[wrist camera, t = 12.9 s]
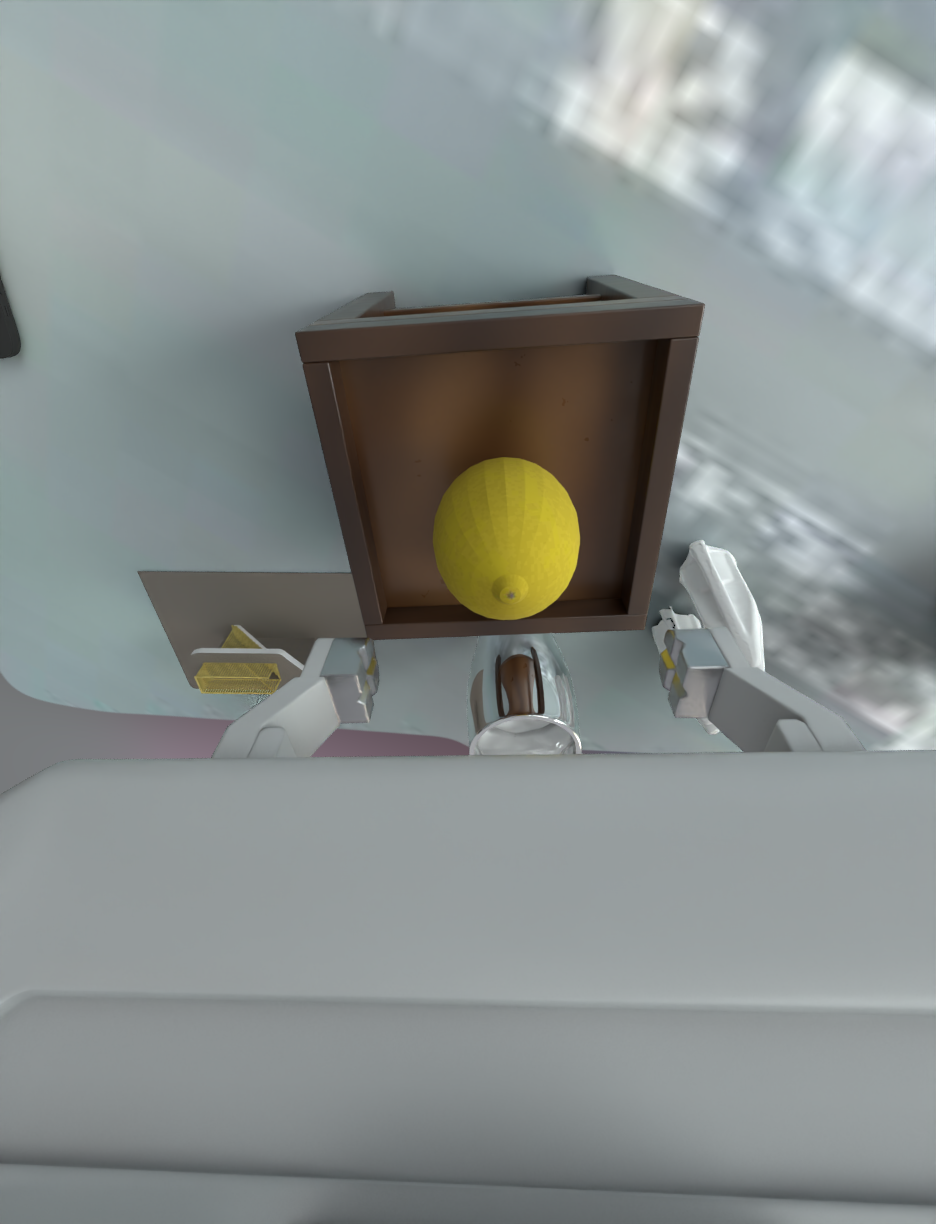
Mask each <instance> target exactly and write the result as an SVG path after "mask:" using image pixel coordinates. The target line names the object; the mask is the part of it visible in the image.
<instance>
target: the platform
mask: <svg viewBox="0 0 936 1224" xmlns="http://www.w3.org/2000/svg"><path fill="white" fill-rule="evenodd" d="M137 572H138V574H139V576H140V578H141V580H142V583H143V585H144V587H145V589H146V591H147V593H148V596H149V598H150V600H151V602H152V604H153V606H154V608H155V611H156V613H157V615H158V617H159V619H160V621H161V624H162V626H163V628H164V630H165V632H166V634H167V636H168V639H169V641H170V643H171V645H172V647H173V649H174V652H175V654H176V656H177V658H178V660H179V662H180V664H181V667H182V669H183V671H184V673H185V675H186V678H187V680H188V682H189V684H190V686H192V687H193V688H196V689H200V691H201V693H210V694H273V693H274V692H275V691H276V690H278V689H280V688H281V687H282V686H284V685H285V684H286V683H288V682H289V681H290V680H292V679H293V678H295V677H300V675H301V673H302V671H303V668H304V666H305V664H306V661H307V659H308V657H309V654H310V652H311V650H312V647H313V645H314V643H315V641H316V640H317V639H318V638H367V635H366V631H365V627H364V623H363V619H362V614H361V610H360V606H359V602H358V598H357V593H356V589H355V585H354V581H353V576H352V573H256V572H146V571H137ZM372 642H373V640H372ZM373 646H374V642H373ZM372 656H373V657H374V658H375V659H376V656H375V649H374V651H373V655H372ZM206 689H207V690H206ZM211 689H212V690H211ZM216 689H217V690H216ZM221 689H222V690H221ZM226 689H227V690H226ZM231 689H232V690H231ZM236 689H237V690H236ZM238 689H239V691H238ZM241 689H242V690H241ZM243 689H244V691H243ZM246 689H247V690H246ZM248 689H249V691H248ZM251 689H252V690H251ZM208 690H209V691H208ZM213 690H214V691H213ZM218 690H219V691H218ZM223 690H224V691H223ZM228 690H229V691H228ZM230 690H231V692H230ZM233 690H234V691H233ZM235 690H236V692H235ZM240 690H241V692H240ZM245 690H246V692H245ZM250 690H251V692H250ZM253 690H254V691H253ZM255 690H256V692H255ZM258 690H259V691H258ZM260 690H261V692H260ZM263 690H264V691H263ZM265 690H266V692H265ZM268 690H269V691H268ZM270 690H271V692H270ZM273 690H274V691H273ZM205 691H206V692H205ZM210 691H211V692H210ZM212 691H213V692H212ZM215 691H216V692H215ZM217 691H218V692H217ZM220 691H221V692H220ZM222 691H223V692H222ZM225 691H226V692H225ZM227 691H228V692H227ZM232 691H233V692H232ZM237 691H238V692H237ZM242 691H243V692H242ZM247 691H248V692H247ZM252 691H253V692H252ZM257 691H258V693H257ZM262 691H263V693H262ZM267 691H268V693H267ZM254 692H255V693H254ZM259 692H260V693H259ZM264 692H265V693H264ZM269 692H270V693H269ZM272 692H273V693H272Z"/></svg>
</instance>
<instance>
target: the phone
mask: <svg viewBox="0 0 936 1224" xmlns="http://www.w3.org/2000/svg"><path fill="white" fill-rule="evenodd" d="M20 347H21V343H20V338H19V334H18V331H17V328H16V325H15V321H14V318H13V315H12V312H11V309H10V306H9V302H8V299H7V296H6V293H5V290H4V287H3V284H2V280H1V277H0V358H8V357H12V356H15V355H17V354H18V353H19V351H20Z"/></svg>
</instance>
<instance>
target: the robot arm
mask: <svg viewBox="0 0 936 1224" xmlns="http://www.w3.org/2000/svg"><path fill="white" fill-rule="evenodd" d="M664 643H665V646H666V649H665V650H664V651H663V652H662V653H661V655H660V661H659V674H660V679H661V682H662V685H663V687H664V688H666V689H667V690H668V691H670V692H669V696H668V701H669V703H670V706H671V709H672V711H673V714H674V716H675V718H708V720H709V721H710V722H711V723H712V724H713V725H714V726H716V727H717V728H718V729H719V730H720V731H721V732H722V733H723V734H724V735H726V736H727V737H728V738H729V739H730V740H731V741H732V742H733V743H735V744H736V745H737V746H738V747H739V748H740V749H741V750H742V751H744V752H719V753H639V754H543V755H466V756H465V755H464V756H375V757H311V756H312V755H313V753H314V752H315V751H316V750H317V749H318V748H319V747H320V746H321V745H322V744H323V743H324V742H325V741H326V739H327V738H328V737H329V736H330V735H331V734H332V733H333V732H334V731H335V730H336V729H337V728H338V727H339V726H340V724H344V723H368V722H370V718H371V714H372V710H373V706H374V702H373V698H372V696H373V695H375V694H376V693H377V690H378V685H379V667H378V662H377V660H376V659H375V658H374V657H373V656H372V655H373V651H374V646H373V642H372V639H371V638H318V639H317V640H316V641H315V643H314V645H313V647H312V650H311V652H310V654H309V657H308V659H307V661H306V664H305V666H304V668H303V671H302V673H301V675H300V677H295V678H293V679H292V680H290V681H289V682H288V683H286V684H285V685H284V686H282V687H281V688H280V689H278V690H277V691H275V692H274V693H273V694H271V695H270V696H269V697H267V698H266V699H264V700H263V701H262V702H260V703H259V704H258V705H256V706H255V707H254V708H252V709H251V710H249V711H248V712H247V713H245V714H244V715H243V716H241V717H240V718H238V719H237V720H236V721H234V722H233V723H232V724H230V725H229V726H228V727H227V728H226V730H225V732H224V734H223V736H222V738H221V740H220V742H219V744H218V745H217V747H216V749H215V751H214V753H213V755H212V757H211V758H189V759H75V760H67V761H62V762H59V763H56V764H54V765H52V766H50V767H48V768H46V769H44V770H42V771H40V772H39V773H37V774H35V775H33V776H31V777H29V778H28V779H26V780H24V781H22V782H21V783H19V784H18V785H16V786H14V787H12V788H10V789H9V790H7V791H5V792H4V793H2V794H0V1224H936V750H897V751H866V749H865V748H864V747H863V745H862V744H861V742H860V741H859V740H858V738H857V737H856V736H855V734H854V733H853V731H852V730H851V729H850V727H849V726H848V724H847V723H846V722H845V720H844V719H843V717H841V716H839V715H837V714H836V713H834V712H832V711H831V710H829V709H827V708H826V707H824V706H822V705H820V704H819V703H817V702H815V701H814V700H812V699H810V698H809V697H807V696H805V695H804V694H802V693H800V692H798V691H797V690H795V689H793V688H792V687H790V686H788V685H787V684H785V683H783V682H781V681H780V680H778V679H776V678H775V677H773V676H771V675H770V674H768V673H766V672H764V671H763V670H761V669H759V668H758V667H751V666H750V664H749V662H748V661H747V659H746V657H745V656H744V654H743V652H742V651H741V649H740V647H739V646H738V644H737V643H736V641H735V639H734V638H733V636H732V634H731V633H730V631H729V629H727V628H726V627H713V628H700V629H669V630H667V632H666V633H665V637H664Z"/></svg>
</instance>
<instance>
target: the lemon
mask: <svg viewBox="0 0 936 1224" xmlns="http://www.w3.org/2000/svg"><path fill="white" fill-rule="evenodd" d="M579 546H580V532H579V525H578V517H577V513H576V510H575V508H574V506H573V504H572V502H571V499H570V497H569V495H568V493H567V491H566V490H565V489H564V487H563V486H562V485H561V484H560V483H559V482H558V480H557V479H556V478H555V477H554V476H553V475H552V474H551V473H549V472H548V471H546V470H545V469H543V468H542V467H540V466H539V465H537V464H535V463H532V462H529V461H526V460H523V459H520V458H508V457H500V458H495V459H489V460H485V461H482V462H480V463H478V464H476V465H474V466H471V467H470V468H468V469H467V470H466V471H465V472H463V473H462V474H461V475H460V476H458V477H457V478H456V479H455V480H454V481H453V483H452V484H451V485H450V487H449V488H448V489H447V491H446V492H445V493H444V495H443V497H442V500H441V502H440V505H439V507H438V510H437V512H436V515H435V520H434V530H433V547H434V553H435V558H436V563H437V567H438V570H439V572H440V574H441V576H442V578H443V580H444V582H445V584H446V586H447V588H448V589H449V591H450V592H451V593H452V594H453V595H454V596H455V598H456V599H457V600H458V601H459V602H460V603H461V604H463V605H464V606H466V607H467V608H468V609H470V610H471V611H473V612H475V613H477V614H479V615H482V616H485V617H487V618H492V619H498V620H517V619H521V618H525V617H529V616H532V615H534V614H536V613H538V612H540V611H542V610H544V609H545V608H547V607H548V606H549V605H551V604H552V603H553V602H554V601H556V600H557V599H558V598H559V596H560V595H561V594H562V593H563V591H564V590H565V589H566V588H567V586H568V584H569V582H570V580H571V578H572V575H573V573H574V571H575V568H576V565H577V559H578V553H579Z"/></svg>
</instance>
